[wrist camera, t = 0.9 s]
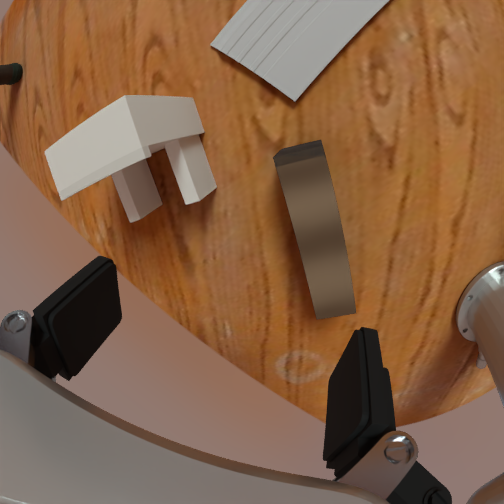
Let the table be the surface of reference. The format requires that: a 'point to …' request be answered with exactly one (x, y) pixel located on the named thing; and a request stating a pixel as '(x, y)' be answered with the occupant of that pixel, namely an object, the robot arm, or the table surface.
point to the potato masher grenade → (10, 73)
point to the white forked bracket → (134, 151)
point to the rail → (317, 227)
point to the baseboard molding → (292, 37)
